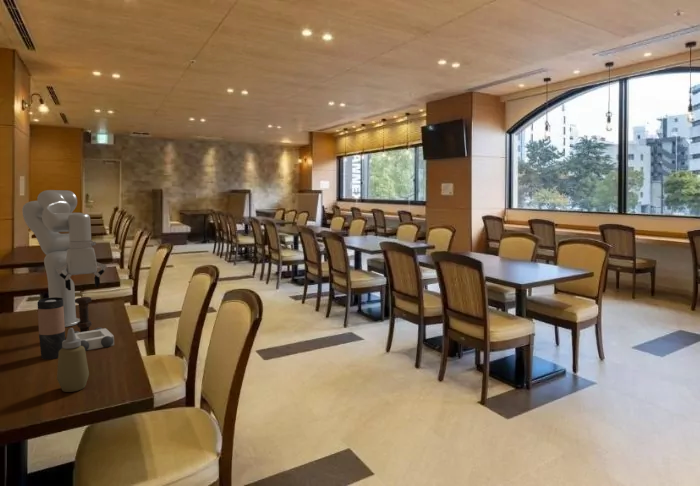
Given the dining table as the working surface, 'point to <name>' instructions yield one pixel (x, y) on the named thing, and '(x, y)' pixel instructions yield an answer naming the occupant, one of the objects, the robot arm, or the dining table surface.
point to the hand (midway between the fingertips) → (83, 288)
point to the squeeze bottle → (72, 364)
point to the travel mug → (51, 326)
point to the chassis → (95, 338)
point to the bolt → (83, 313)
